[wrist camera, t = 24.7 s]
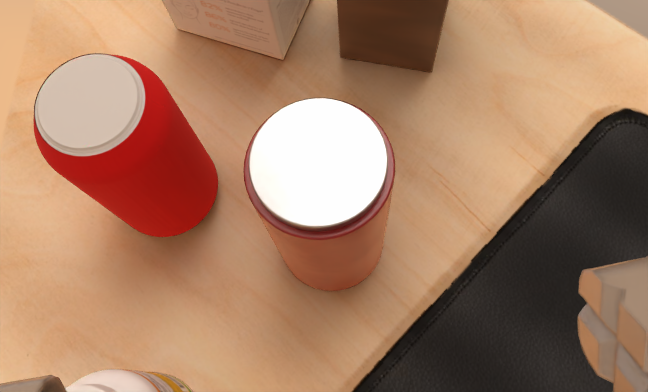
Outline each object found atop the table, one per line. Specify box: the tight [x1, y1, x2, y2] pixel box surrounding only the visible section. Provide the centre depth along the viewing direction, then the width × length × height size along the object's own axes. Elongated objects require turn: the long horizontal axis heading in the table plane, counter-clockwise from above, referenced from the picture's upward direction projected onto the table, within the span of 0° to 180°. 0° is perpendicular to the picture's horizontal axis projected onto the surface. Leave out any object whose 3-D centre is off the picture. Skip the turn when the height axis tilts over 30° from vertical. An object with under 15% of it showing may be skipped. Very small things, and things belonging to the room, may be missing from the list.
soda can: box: [244, 98, 395, 291], centre depth 29 cm, size 6×6×13 cm
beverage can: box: [34, 54, 218, 237], centre depth 31 cm, size 6×6×12 cm
